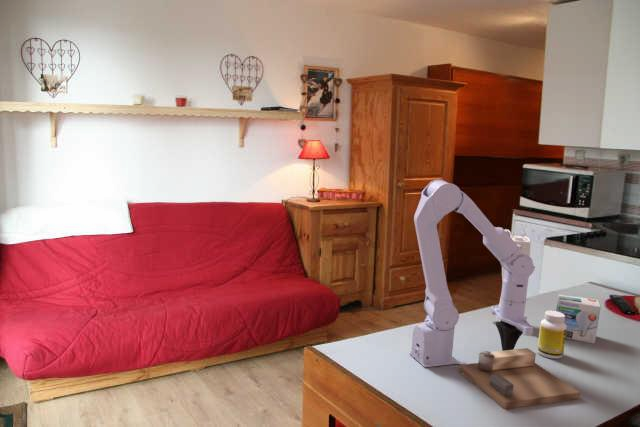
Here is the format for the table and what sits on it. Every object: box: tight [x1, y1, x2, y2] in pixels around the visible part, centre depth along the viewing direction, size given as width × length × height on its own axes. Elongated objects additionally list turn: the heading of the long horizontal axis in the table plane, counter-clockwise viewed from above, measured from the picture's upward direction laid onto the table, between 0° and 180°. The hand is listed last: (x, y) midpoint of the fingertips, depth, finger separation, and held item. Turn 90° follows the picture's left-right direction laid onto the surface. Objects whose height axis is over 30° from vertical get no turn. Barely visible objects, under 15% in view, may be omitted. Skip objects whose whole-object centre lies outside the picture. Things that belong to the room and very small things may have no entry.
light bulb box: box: [555, 293, 602, 344], centre depth 145 cm, size 11×7×11 cm, turn 68°
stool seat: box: [458, 362, 581, 410], centre depth 115 cm, size 19×17×4 cm
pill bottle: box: [536, 310, 567, 360], centre depth 132 cm, size 6×6×11 cm
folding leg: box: [477, 347, 537, 371], centre depth 120 cm, size 14×3×4 cm, turn 107°
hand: (507, 351), depth 127 cm, fingers closed
